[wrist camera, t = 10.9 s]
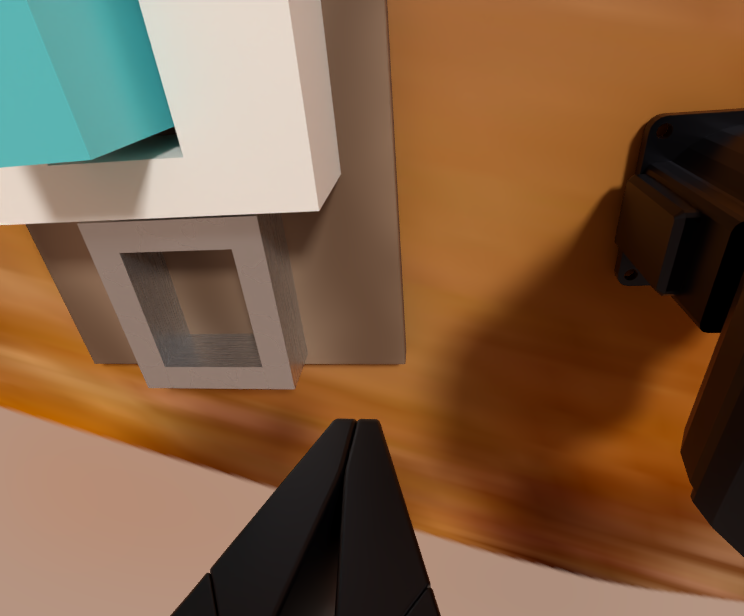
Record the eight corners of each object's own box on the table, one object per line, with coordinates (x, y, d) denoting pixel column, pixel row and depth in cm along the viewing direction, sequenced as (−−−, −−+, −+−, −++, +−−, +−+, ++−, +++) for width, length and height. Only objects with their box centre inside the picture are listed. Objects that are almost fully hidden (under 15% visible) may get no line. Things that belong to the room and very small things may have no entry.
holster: (277, 193, 18) (256, 216, 16) (307, 354, 22) (294, 389, 20) (116, 201, 19) (77, 223, 17) (174, 354, 23) (148, 388, 21)
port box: (302, -156, 13) (255, -221, 9) (340, 174, 17) (319, 211, 14) (-76, -98, 14) (-234, -136, 11) (52, 189, 19) (-30, 226, 15)
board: (376, -179, 13) (373, -194, 12) (406, 351, 22) (405, 364, 22) (-109, -103, 15) (-141, -110, 14) (106, 351, 25) (94, 363, 24)
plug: (177, -26, 15) (3, -59, 9) (212, 111, 17) (91, 159, 11) (90, -14, 15) (-132, -37, 9) (135, 118, 17) (-22, 169, 11)
